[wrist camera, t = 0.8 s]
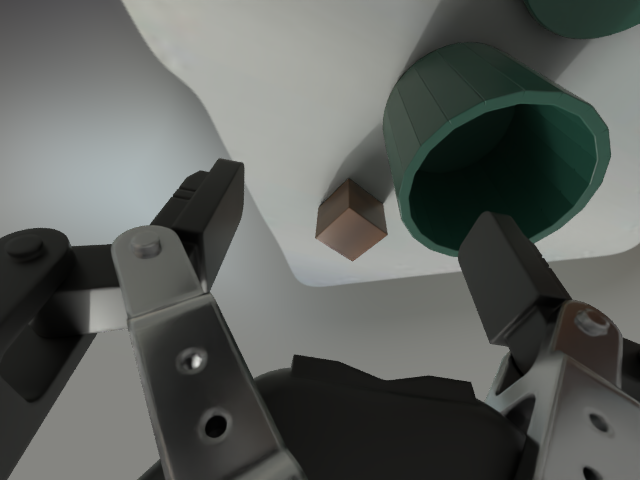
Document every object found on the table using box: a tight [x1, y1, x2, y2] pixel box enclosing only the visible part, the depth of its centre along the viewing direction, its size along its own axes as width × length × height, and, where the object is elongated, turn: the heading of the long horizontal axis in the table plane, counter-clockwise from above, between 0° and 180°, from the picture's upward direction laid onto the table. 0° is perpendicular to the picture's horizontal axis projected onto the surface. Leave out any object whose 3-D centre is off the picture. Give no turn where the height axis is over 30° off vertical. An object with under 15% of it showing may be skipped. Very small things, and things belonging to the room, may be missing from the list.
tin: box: [383, 42, 611, 257], centre depth 21 cm, size 10×10×10 cm
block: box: [315, 179, 388, 261], centre depth 30 cm, size 5×5×5 cm
